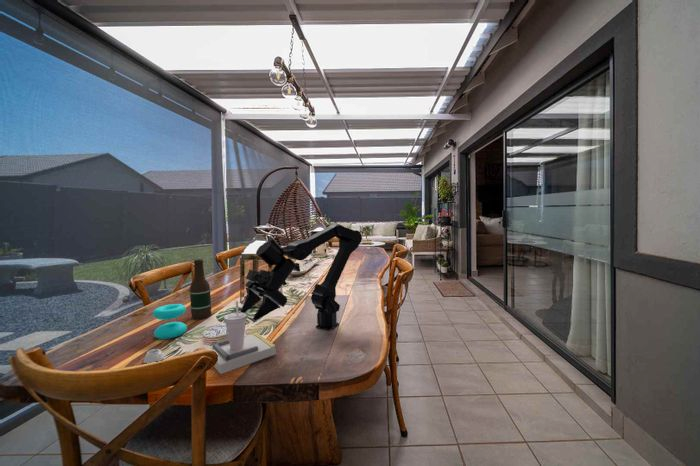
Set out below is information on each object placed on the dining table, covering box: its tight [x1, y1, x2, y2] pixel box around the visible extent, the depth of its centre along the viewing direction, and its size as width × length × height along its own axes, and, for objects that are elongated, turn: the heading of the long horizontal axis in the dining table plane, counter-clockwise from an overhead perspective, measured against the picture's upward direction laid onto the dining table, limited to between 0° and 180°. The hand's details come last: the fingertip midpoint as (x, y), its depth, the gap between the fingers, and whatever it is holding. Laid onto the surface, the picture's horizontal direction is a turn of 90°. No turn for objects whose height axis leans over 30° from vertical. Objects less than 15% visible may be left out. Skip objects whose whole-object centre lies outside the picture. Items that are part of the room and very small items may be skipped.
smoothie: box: [223, 300, 248, 350], centre depth 88 cm, size 6×6×14 cm
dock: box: [204, 332, 277, 375], centre depth 89 cm, size 16×14×4 cm
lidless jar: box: [143, 348, 165, 364], centre depth 87 cm, size 5×3×5 cm
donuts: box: [152, 303, 188, 340], centre depth 105 cm, size 10×10×10 cm
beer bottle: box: [189, 259, 212, 320], centre depth 123 cm, size 8×8×24 cm
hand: (247, 315), depth 90 cm, fingers open, 9 cm apart
